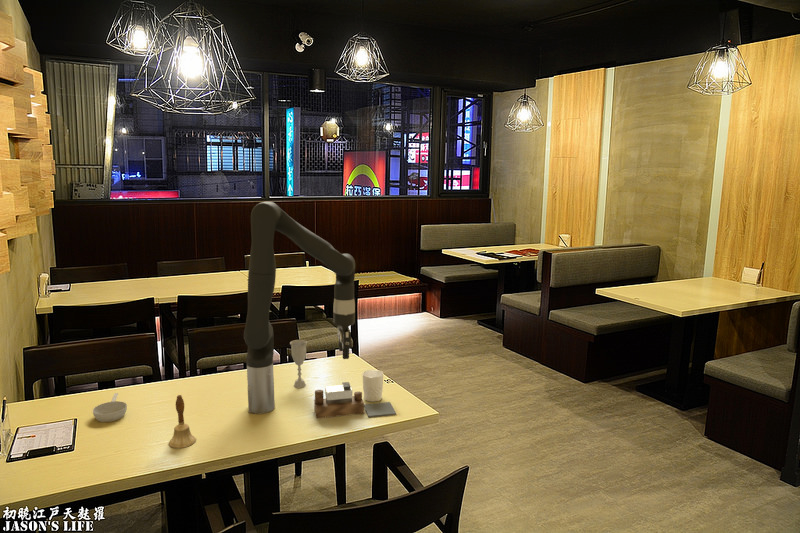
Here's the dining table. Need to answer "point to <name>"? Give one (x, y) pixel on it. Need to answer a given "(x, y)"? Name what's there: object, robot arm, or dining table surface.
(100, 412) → the pan
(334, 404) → the plane body
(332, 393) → the lever cap
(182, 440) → the hand bell
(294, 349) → the chalice
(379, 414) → the slate mat
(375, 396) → the white cup
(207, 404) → the dining table surface
